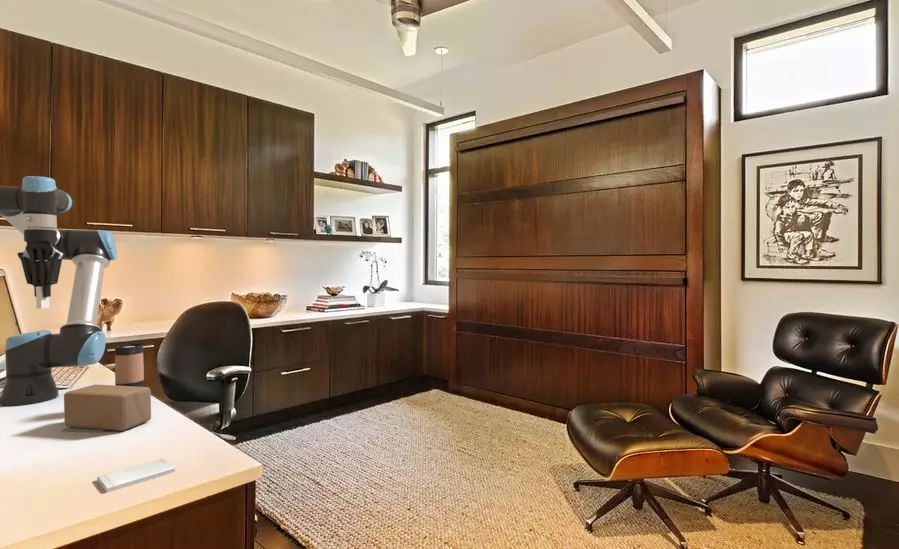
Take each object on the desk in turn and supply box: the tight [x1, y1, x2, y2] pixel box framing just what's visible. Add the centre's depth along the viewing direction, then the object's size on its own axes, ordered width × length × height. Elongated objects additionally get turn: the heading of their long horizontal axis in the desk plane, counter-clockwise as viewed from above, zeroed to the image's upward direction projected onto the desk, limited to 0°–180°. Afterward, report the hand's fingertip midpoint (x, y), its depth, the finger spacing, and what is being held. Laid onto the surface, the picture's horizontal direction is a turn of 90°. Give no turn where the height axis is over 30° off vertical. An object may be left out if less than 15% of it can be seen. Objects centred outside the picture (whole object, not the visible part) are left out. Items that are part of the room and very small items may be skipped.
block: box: [63, 384, 152, 432], centre depth 134 cm, size 10×10×20 cm
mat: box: [61, 427, 108, 433], centre depth 136 cm, size 12×15×1 cm
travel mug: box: [114, 343, 145, 387], centre depth 151 cm, size 8×8×20 cm
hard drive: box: [96, 458, 176, 494], centre depth 101 cm, size 2×8×12 cm
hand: (43, 307), depth 140 cm, fingers closed
